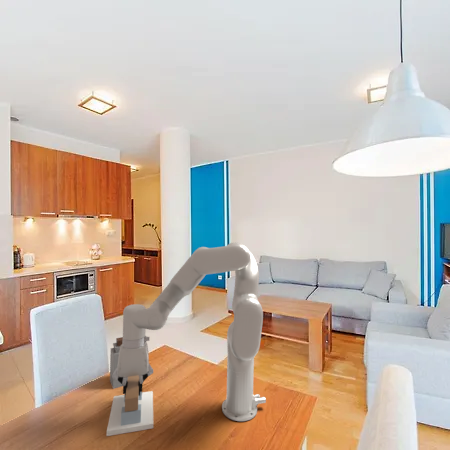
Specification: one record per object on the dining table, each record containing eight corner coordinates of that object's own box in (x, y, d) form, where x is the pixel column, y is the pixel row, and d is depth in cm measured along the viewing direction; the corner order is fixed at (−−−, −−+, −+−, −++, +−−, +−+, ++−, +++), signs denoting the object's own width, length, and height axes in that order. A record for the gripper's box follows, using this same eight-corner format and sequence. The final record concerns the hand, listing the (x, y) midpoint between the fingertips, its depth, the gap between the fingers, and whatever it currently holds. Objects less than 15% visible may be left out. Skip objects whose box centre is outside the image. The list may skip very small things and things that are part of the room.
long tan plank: (139, 382, 103) (139, 371, 103) (137, 409, 88) (138, 397, 88) (128, 383, 102) (128, 373, 102) (124, 411, 87) (124, 399, 87)
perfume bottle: (126, 376, 118) (127, 334, 118) (130, 383, 112) (131, 340, 113) (109, 380, 114) (110, 337, 115) (113, 388, 109) (114, 343, 109)
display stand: (152, 394, 105) (153, 380, 105) (153, 428, 88) (153, 411, 88) (113, 400, 102) (114, 385, 102) (106, 436, 84) (107, 418, 84)
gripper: (158, 335, 101) (157, 385, 101) (109, 339, 96) (108, 391, 96) (158, 343, 94) (157, 397, 93) (106, 348, 89) (105, 404, 89)
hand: (132, 393), depth 95 cm, fingers closed on long tan plank, 3 cm apart
